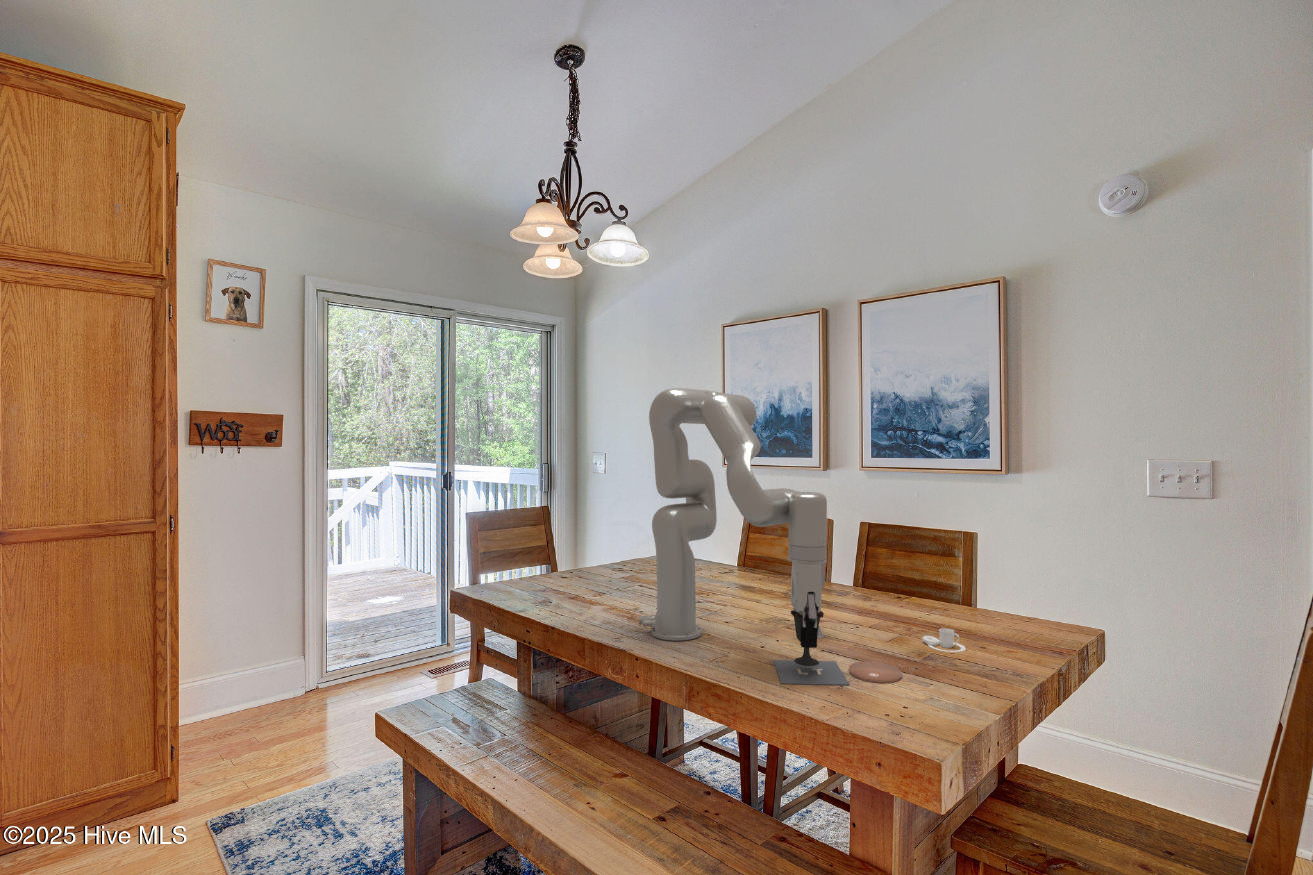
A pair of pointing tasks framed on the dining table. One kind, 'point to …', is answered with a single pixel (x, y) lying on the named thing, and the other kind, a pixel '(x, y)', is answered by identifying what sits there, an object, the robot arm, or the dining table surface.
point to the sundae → (806, 657)
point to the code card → (810, 673)
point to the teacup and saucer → (943, 640)
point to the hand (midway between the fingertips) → (806, 641)
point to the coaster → (875, 672)
